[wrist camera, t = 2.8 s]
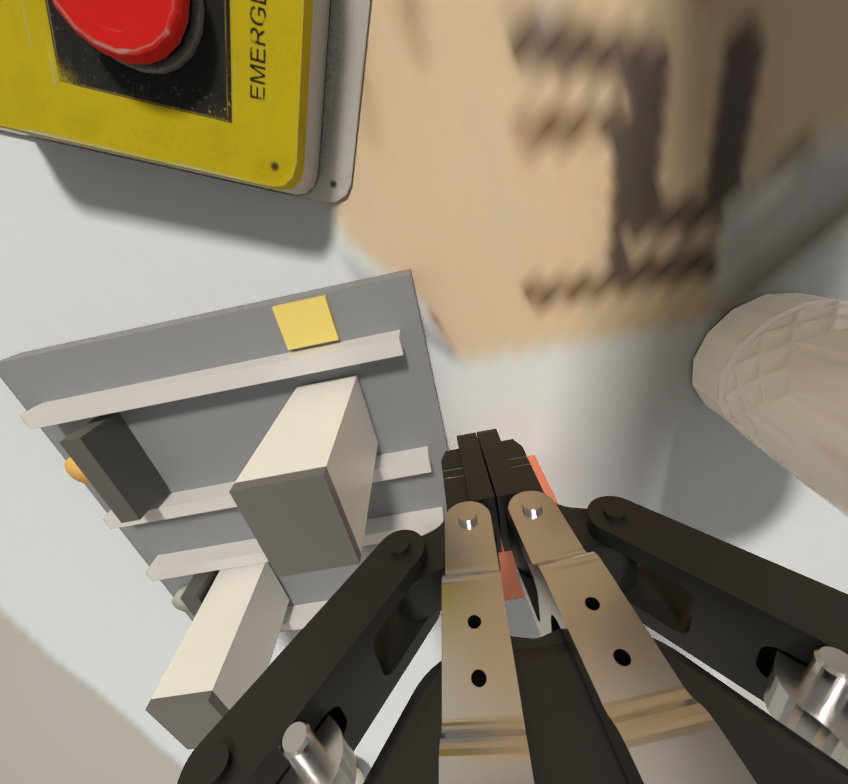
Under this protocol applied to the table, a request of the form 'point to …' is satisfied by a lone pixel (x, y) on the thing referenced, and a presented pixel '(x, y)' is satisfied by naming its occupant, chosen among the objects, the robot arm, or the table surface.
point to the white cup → (784, 384)
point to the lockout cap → (507, 560)
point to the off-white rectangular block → (312, 480)
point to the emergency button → (193, 85)
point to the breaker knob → (221, 652)
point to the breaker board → (237, 424)
